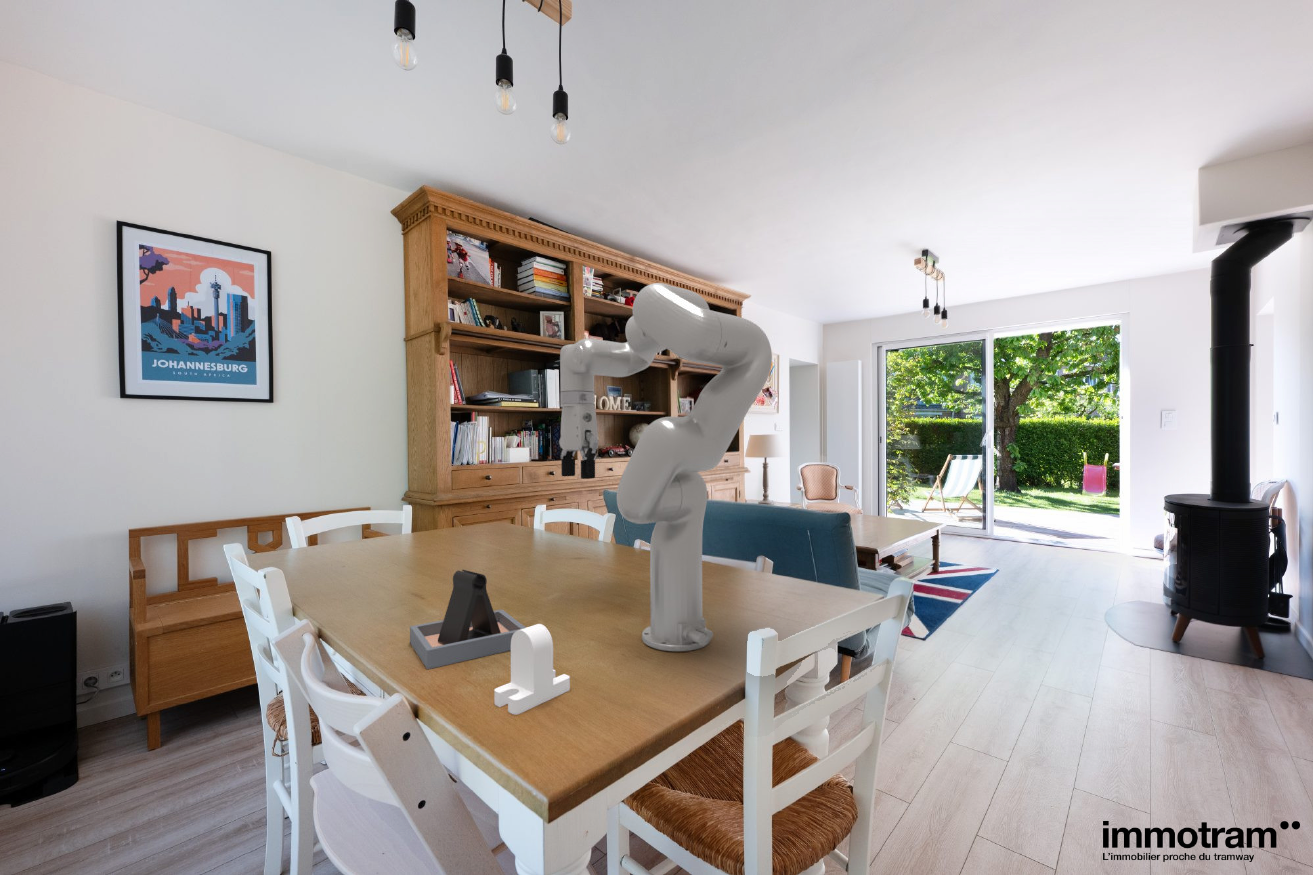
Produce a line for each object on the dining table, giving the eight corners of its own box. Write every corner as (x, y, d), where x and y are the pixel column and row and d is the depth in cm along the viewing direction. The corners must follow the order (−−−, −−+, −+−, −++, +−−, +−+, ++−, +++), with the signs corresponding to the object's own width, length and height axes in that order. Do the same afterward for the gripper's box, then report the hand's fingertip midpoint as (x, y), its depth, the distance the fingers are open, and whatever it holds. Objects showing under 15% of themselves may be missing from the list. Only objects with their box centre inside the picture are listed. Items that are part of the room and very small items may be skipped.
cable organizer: (492, 703, 77) (492, 632, 77) (548, 679, 84) (548, 614, 84) (515, 715, 73) (515, 641, 73) (571, 689, 81) (571, 621, 81)
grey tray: (528, 646, 98) (528, 629, 98) (427, 669, 88) (427, 650, 88) (502, 624, 109) (502, 609, 109) (410, 642, 100) (410, 626, 100)
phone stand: (481, 628, 104) (481, 565, 104) (501, 635, 100) (500, 569, 100) (437, 642, 97) (437, 574, 97) (456, 650, 93) (456, 579, 93)
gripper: (611, 398, 118) (611, 478, 118) (575, 403, 132) (575, 474, 132) (579, 397, 114) (580, 480, 114) (546, 402, 128) (546, 476, 128)
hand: (577, 477), depth 123 cm, fingers open, 9 cm apart
